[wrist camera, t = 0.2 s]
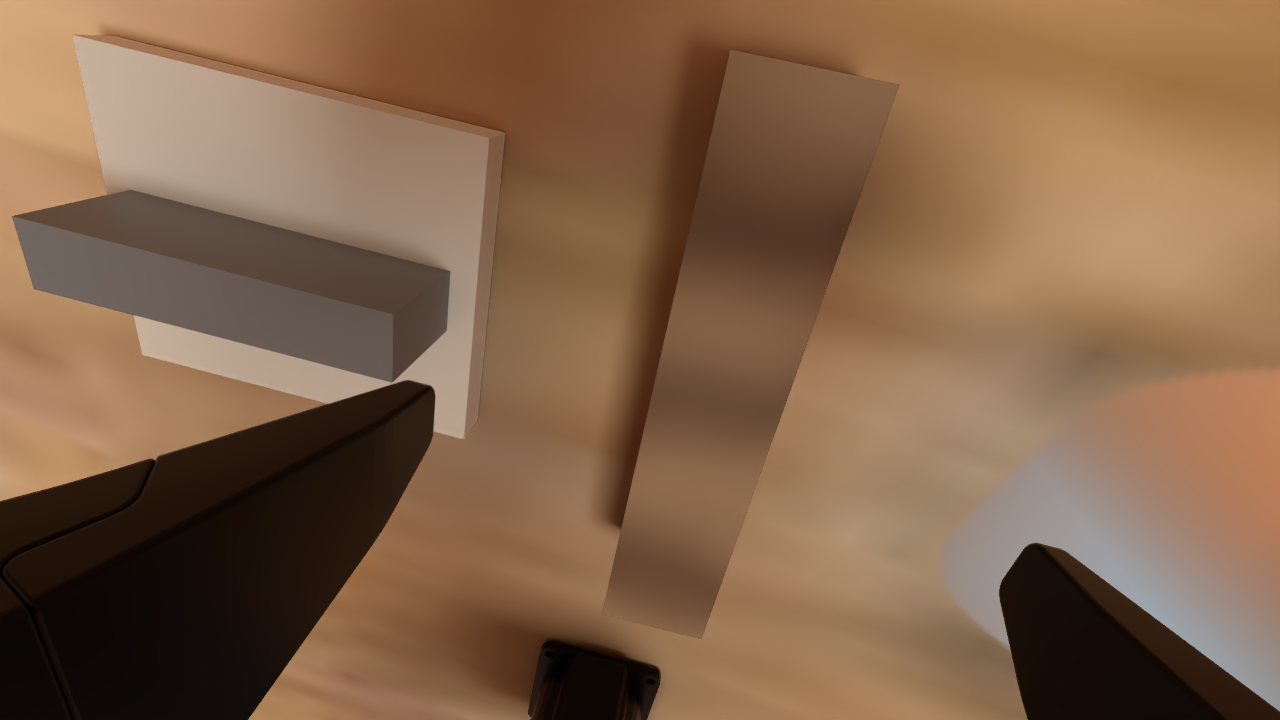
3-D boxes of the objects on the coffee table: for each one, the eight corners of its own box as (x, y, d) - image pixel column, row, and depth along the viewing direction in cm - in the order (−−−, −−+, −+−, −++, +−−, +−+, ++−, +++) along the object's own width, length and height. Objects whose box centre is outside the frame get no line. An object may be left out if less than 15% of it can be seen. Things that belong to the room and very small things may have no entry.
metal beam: (706, 545, 28) (701, 639, 23) (623, 525, 28) (601, 614, 23) (859, 77, 18) (899, 84, 14) (731, 50, 18) (730, 49, 14)
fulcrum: (477, 419, 26) (418, 503, 21) (172, 339, 26) (44, 404, 21) (505, 132, 20) (432, 157, 15) (115, 35, 21) (-77, 30, 16)
